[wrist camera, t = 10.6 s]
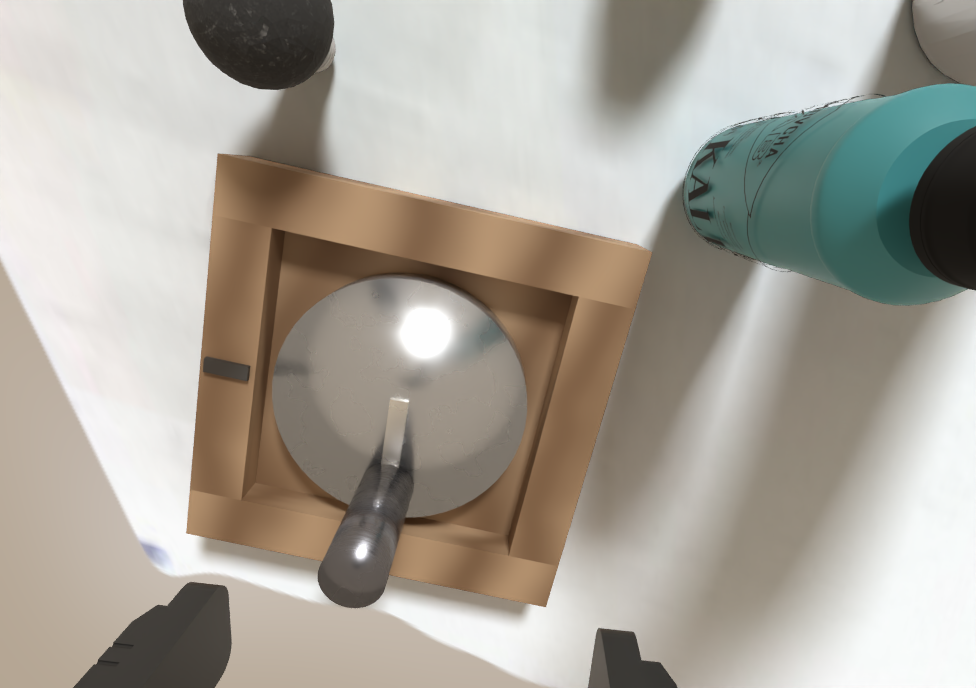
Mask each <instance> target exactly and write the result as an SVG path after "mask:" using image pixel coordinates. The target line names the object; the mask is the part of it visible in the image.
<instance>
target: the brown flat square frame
mask: <svg viewBox="0 0 976 688" xmlns="http://www.w3.org/2000/svg"><path fill="white" fill-rule="evenodd" d="M651 255H652V252H651V251H649V250H647V249H645V248H643V247H641V246H639V245H637V244H633V243H628V242H624V241H619V240H615V239H611V238H606V237H602V236H597V235H593V234H589V233H584V232H580V231H576V230H571V229H567V228H562V227H558V226H554V225H549V224H545V223H540V222H536V221H532V220H527V219H523V218H518V217H514V216H510V215H505V214H501V213H497V212H492V211H488V210H483V209H479V208H475V207H470V206H466V205H461V204H457V203H453V202H448V201H444V200H439V199H435V198H431V197H426V196H422V195H417V194H413V193H409V192H404V191H400V190H396V189H391V188H387V187H382V186H378V185H374V184H369V183H365V182H360V181H356V180H352V179H347V178H343V177H338V176H334V175H330V174H325V173H321V172H317V171H312V170H308V169H303V168H299V167H295V166H290V165H286V164H281V163H277V162H273V161H268V160H264V159H259V158H255V157H251V156H242V155H230V154H218V157H217V169H216V181H215V193H214V205H213V217H212V229H211V241H210V254H209V266H208V278H207V290H206V302H205V314H204V326H203V338H202V350H201V362H200V375H199V387H198V399H197V411H196V423H195V435H194V447H193V459H192V471H191V483H190V496H189V508H188V520H187V532H186V533H188V534H192V535H197V536H202V537H207V538H212V539H217V540H222V541H226V542H231V543H236V544H241V545H246V546H251V547H256V548H260V549H265V550H270V551H275V552H280V553H285V554H290V555H295V556H299V557H304V558H309V559H314V560H319V561H323V559H324V557H325V555H326V553H327V550H328V548H329V546H330V544H331V542H332V540H333V538H334V536H335V534H336V532H337V529H338V527H339V525H340V523H341V521H342V519H343V517H344V515H345V513H346V511H347V508H348V506H349V505H348V504H346V503H344V502H342V501H340V500H338V499H336V498H335V497H333V496H332V495H330V494H329V493H327V492H325V491H324V490H323V489H322V488H320V487H319V486H318V485H317V484H316V483H314V482H313V481H312V480H311V479H310V478H309V477H308V476H307V475H306V474H305V473H304V472H303V471H302V470H301V468H300V467H299V466H298V464H297V463H296V462H295V460H294V459H293V458H292V456H291V454H290V453H289V451H288V449H287V447H286V446H285V444H284V442H283V439H282V437H281V435H280V432H279V430H278V426H277V423H276V419H275V415H274V409H273V402H272V381H273V374H274V368H275V364H276V361H277V358H278V354H279V352H280V349H281V347H282V345H283V343H284V341H285V339H286V337H287V336H288V334H289V333H290V331H291V330H292V328H293V326H294V325H295V324H296V323H297V322H298V320H299V319H300V318H301V317H302V316H303V315H304V314H305V313H306V312H307V311H308V310H309V309H310V308H312V307H313V306H314V305H315V304H316V303H318V302H319V301H320V300H322V299H323V298H325V297H326V296H328V295H329V294H331V293H333V292H334V291H336V290H337V289H339V288H341V287H342V286H344V285H347V284H349V283H351V282H353V281H356V280H358V279H362V278H365V277H369V276H372V275H378V274H385V273H414V274H423V275H427V276H431V277H435V278H439V279H441V280H444V281H447V282H449V283H452V284H454V285H456V286H458V287H460V288H462V289H463V290H465V291H467V292H469V293H470V294H472V295H473V296H475V297H476V298H477V299H479V300H480V301H481V302H483V303H484V304H485V305H486V306H487V307H488V308H489V309H490V310H491V311H492V312H493V313H494V314H495V315H496V316H497V317H498V319H499V320H500V321H501V322H502V323H503V325H504V326H505V327H506V329H507V331H508V332H509V334H510V336H511V337H512V339H513V341H514V343H515V345H516V348H517V350H518V352H519V354H520V358H521V361H522V365H523V368H524V375H525V382H526V391H527V416H526V424H525V429H524V433H523V436H522V440H521V443H520V445H519V447H518V449H517V452H516V454H515V456H514V458H513V459H512V461H511V463H510V464H509V466H508V467H507V469H506V470H505V471H504V473H503V474H502V475H501V476H500V477H499V479H498V480H497V481H496V482H495V483H494V484H493V485H491V486H490V487H489V488H488V489H487V490H486V491H485V492H483V493H482V494H480V495H479V496H477V497H476V498H475V499H473V500H471V501H469V502H467V503H466V504H464V505H462V506H460V507H457V508H455V509H452V510H449V511H447V512H443V513H439V514H435V515H431V516H423V517H406V518H405V521H404V525H403V528H402V532H401V535H400V539H399V542H398V545H397V549H396V552H395V556H394V559H393V562H392V566H391V569H390V573H389V575H392V576H397V577H402V578H406V579H411V580H416V581H421V582H426V583H431V584H436V585H440V586H445V587H450V588H455V589H460V590H465V591H470V592H474V593H479V594H484V595H489V596H494V597H499V598H504V599H509V600H513V601H518V602H523V603H528V604H533V605H538V606H543V607H546V605H547V601H548V598H549V595H550V591H551V588H552V585H553V581H554V578H555V575H556V571H557V568H558V565H559V561H560V558H561V555H562V551H563V548H564V545H565V542H566V538H567V535H568V532H569V528H570V525H571V522H572V518H573V515H574V512H575V508H576V505H577V502H578V498H579V495H580V492H581V488H582V485H583V482H584V478H585V475H586V472H587V468H588V465H589V462H590V458H591V455H592V452H593V448H594V445H595V442H596V438H597V435H598V432H599V428H600V425H601V422H602V418H603V415H604V412H605V408H606V405H607V402H608V398H609V395H610V392H611V388H612V385H613V382H614V378H615V375H616V372H617V368H618V365H619V362H620V358H621V355H622V352H623V348H624V345H625V342H626V339H627V335H628V332H629V329H630V325H631V322H632V319H633V315H634V312H635V309H636V305H637V302H638V299H639V295H640V292H641V289H642V285H643V282H644V279H645V275H646V272H647V269H648V265H649V262H650V259H651Z"/></svg>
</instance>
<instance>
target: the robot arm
mask: <svg viewBox="0 0 976 688" xmlns="http://www.w3.org/2000/svg"><path fill="white" fill-rule="evenodd" d="M912 12H913V21H914V29H915V32H916V35H917V38H918V40H919V43H920V46H921V48H922V50H923V51H924V53H925V54H926V56H927V57H928V59H929V61H930V62H931V63H932V64H933V65H934V66H935V67H936V68H937V69H938V70H940V71H941V72H942V73H943V74H944V75H946V76H948V77H950V78H951V79H953V80H955V81H957V82H959V83H962V84H967V85H971V86H976V0H913V3H912ZM230 652H231V627H230V611H229V595H228V590H227V588H226V587H225V586H222V585H213V584H204V583H195V582H190V583H187V584H186V585H185V586H184V587H183V588H182V589H181V590H180V591H179V593H178V594H177V595H176V596H175V597H174V599H173V600H172V601H171V602H170V603H169V604H168V606H163V605H157V606H155V607H154V608H152V609H151V610H149V611H148V612H146V613H145V614H143V615H142V616H140V617H139V618H137V619H136V620H134V621H133V622H131V624H130V625H129V626H128V627H127V628H126V629H125V630H124V631H123V632H122V634H121V635H120V636H119V637H118V638H117V639H116V641H114V643H113V646H112V647H109V648H108V649H107V651H106V652H105V653H104V654H103V655H102V656H101V657H100V658H99V659H98V662H97V664H96V665H93V666H92V667H91V668H90V669H89V671H88V672H87V673H86V674H85V675H84V676H83V677H82V678H81V679H80V681H79V682H78V683H77V684H76V685H75V686H74V687H73V688H215V686H216V684H217V683H218V681H219V680H220V678H221V677H222V675H223V673H224V671H225V669H226V666H227V663H228V660H229V656H230ZM588 688H677V685H676V684H675V682H674V681H673V680H672V678H671V677H670V676H669V674H668V673H667V671H666V670H665V669H664V667H663V666H662V665H661V663H659V662H650V661H641V657H640V652H639V648H638V644H637V639H636V636H635V634H634V632H630V631H621V630H611V629H602V628H598V630H597V633H596V639H595V645H594V652H593V658H592V665H591V671H590V678H589V685H588Z"/></svg>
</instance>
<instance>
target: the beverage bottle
mask: <svg viewBox="0 0 976 688" xmlns="http://www.w3.org/2000/svg"><path fill="white" fill-rule="evenodd" d="M876 95H879V94H876ZM864 96H865V95H864ZM881 96H884V95H881ZM857 97H860V96H857ZM854 98H856V97H854ZM849 99H850V98H849ZM852 99H853V97H852ZM843 100H845V99H843ZM846 100H847V99H846ZM850 100H851V99H850ZM840 101H842V100H840ZM848 101H849V100H848ZM848 101H847V102H848ZM836 102H838V101H834V103H836ZM829 103H830V102H829ZM845 103H846V102H845ZM845 103H844V104H842V105H838V106H833V107H828V105H830V104H833V102H831V103H830V104H828V103H827V104H828V105H827V104H826V105H825V106H824V107H821V108H823V109H820V108H817V109H818V110H816V109H815V110H813V111H808V112H804V110H803V111H802V113H799V114H794V115H789V116H784V117H777V116H775V115H778V114H775V115H774V116H775V117H774V116H773V117H774V118H770V119H768V118H767V119H765V120H763V121H760V122H755V123H750V124H745V125H739V126H736V127H733V126H732V125H731V126H732V127H733V128H731V129H728V130H726V131H724V132H722V131H721V132H722V133H720V132H719V133H720V134H719V135H717V134H716V135H717V136H716V137H715V136H714V138H713V139H712V138H711V137H710V138H711V139H712V140H709V142H707V143H706V145H704V147H702V149H701V150H700V151H699V153H698V154H697V156H696V157H695V159H694V160H693V159H692V160H693V162H692V164H691V166H690V165H689V166H690V169H689V171H688V170H687V171H688V174H687V173H686V174H687V178H686V182H685V180H684V182H685V188H684V185H683V188H684V201H685V207H686V211H687V214H688V217H689V219H690V221H691V223H692V224H693V226H694V227H695V230H696V231H697V232H699V233H700V234H701V235H702V236H703V237H704V238H705V239H706V240H707V241H708V242H709V241H710V242H712V243H714V244H716V245H718V246H721V247H723V248H726V249H729V250H732V251H734V252H737V253H740V254H743V255H745V256H748V258H749V257H750V258H751V259H753V260H759V261H760V262H761V261H762V262H764V263H767V264H770V265H773V266H776V267H779V268H784V269H788V270H791V271H794V272H797V273H800V274H803V275H806V276H809V277H812V278H815V279H818V280H821V281H824V282H827V283H829V284H832V285H835V286H838V287H841V288H844V289H847V290H850V291H852V292H853V293H855V294H857V295H860V296H862V297H864V298H866V299H870V300H873V301H876V302H880V303H884V304H891V305H905V306H909V305H920V304H925V303H930V302H935V301H939V300H942V299H945V298H948V297H951V296H954V295H956V294H958V293H960V292H963V291H965V290H967V289H971V290H976V86H971V85H965V84H951V83H949V84H936V85H930V86H925V87H921V88H916V89H912V90H909V91H907V92H904V93H901V94H898V95H893V96H887V97H886V96H884V97H882V98H876V99H867V100H862V101H857V102H852V103H847V104H845ZM817 106H818V105H817ZM813 107H815V106H813ZM825 107H828V108H825ZM810 108H811V107H810ZM808 109H809V108H808ZM784 113H785V112H784ZM788 113H789V114H790V113H795V112H789V111H788ZM779 114H783V113H779ZM787 115H788V114H787ZM770 116H771V115H770ZM778 116H779V115H778ZM771 117H772V116H771ZM758 119H759V120H760V119H763V118H762V117H761V118H758ZM753 120H756V119H753ZM748 121H751V120H748ZM745 122H747V121H745ZM741 123H744V122H741ZM741 123H740V122H739V124H741ZM735 124H736V123H735ZM735 124H734V126H735ZM736 125H738V124H736ZM729 127H730V126H729ZM724 130H725V129H724ZM710 138H709V139H710ZM700 148H701V147H700ZM700 148H699V149H700ZM697 152H698V151H697ZM697 152H696V153H697ZM694 156H695V155H694ZM693 158H694V157H693ZM690 163H691V162H690ZM688 168H689V167H688ZM685 177H686V176H685ZM683 205H684V202H683ZM684 210H685V208H684ZM685 213H686V212H685ZM686 216H687V215H686ZM687 219H688V218H687ZM688 221H689V220H688ZM689 223H690V222H689ZM690 225H691V224H690ZM691 227H692V226H691ZM693 230H694V229H693ZM697 235H698V234H697ZM701 235H700V236H701ZM698 236H699V235H698ZM700 236H699V237H700ZM702 236H701V237H702ZM701 239H702V238H701ZM705 239H704V240H705ZM707 241H706V242H707ZM708 242H707V243H708ZM709 245H711V244H709ZM712 246H714V245H712ZM715 248H716V246H715ZM723 248H721V249H723ZM718 249H719V248H718ZM724 250H725V249H724ZM726 251H727V250H726ZM732 251H731V252H732ZM734 252H733V253H734ZM728 253H729V252H728ZM731 254H732V253H731ZM740 254H739V255H740ZM734 255H736V256H738V255H737V254H735V253H734ZM740 256H741V255H740ZM743 258H744V259H745V257H744V256H743ZM746 259H747V258H746ZM749 261H750V260H749ZM759 261H758V262H759ZM752 262H753V261H752ZM757 264H758V263H757ZM767 264H766V265H767ZM763 265H764V264H763ZM765 267H767V266H765ZM772 270H774V269H772ZM776 271H777V270H776ZM791 271H788V272H791ZM780 272H784V271H780Z"/></svg>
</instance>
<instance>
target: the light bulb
mask: <svg viewBox="0 0 976 688" xmlns="http://www.w3.org/2000/svg"><path fill="white" fill-rule="evenodd" d="M183 7H184V12H185V17H186V20H187V23H188V26H189V29H190V31H191V33H192V35H193V37H194V39H195V41H196V42H197V44H198V46H199V47H200V49H201V50H202V51H203V53H204V54H205V56H206V57H207V58H208V59H209V60H210V61H211V62H212V64H213V65H215V66H216V67H217V68H219V69H220V70H221V71H222V72H223V73H225V74H227V75H228V76H229V77H231V78H233V79H235V80H236V81H238V82H240V83H242V84H245V85H248V86H251V87H254V88H258V89H270V90H279V89H286V88H290V87H294V86H296V85H298V84H300V83H302V82H304V81H305V80H307V79H308V78H310V77H311V76H312V75H313V74H314V73H318V72H321V71H324V70H325V69H327V68H328V67H329V66H330V64H331V63H332V61H333V59H334V56H335V42H334V39H333V29H334V17H333V9H332V3H331V0H183Z"/></svg>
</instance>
